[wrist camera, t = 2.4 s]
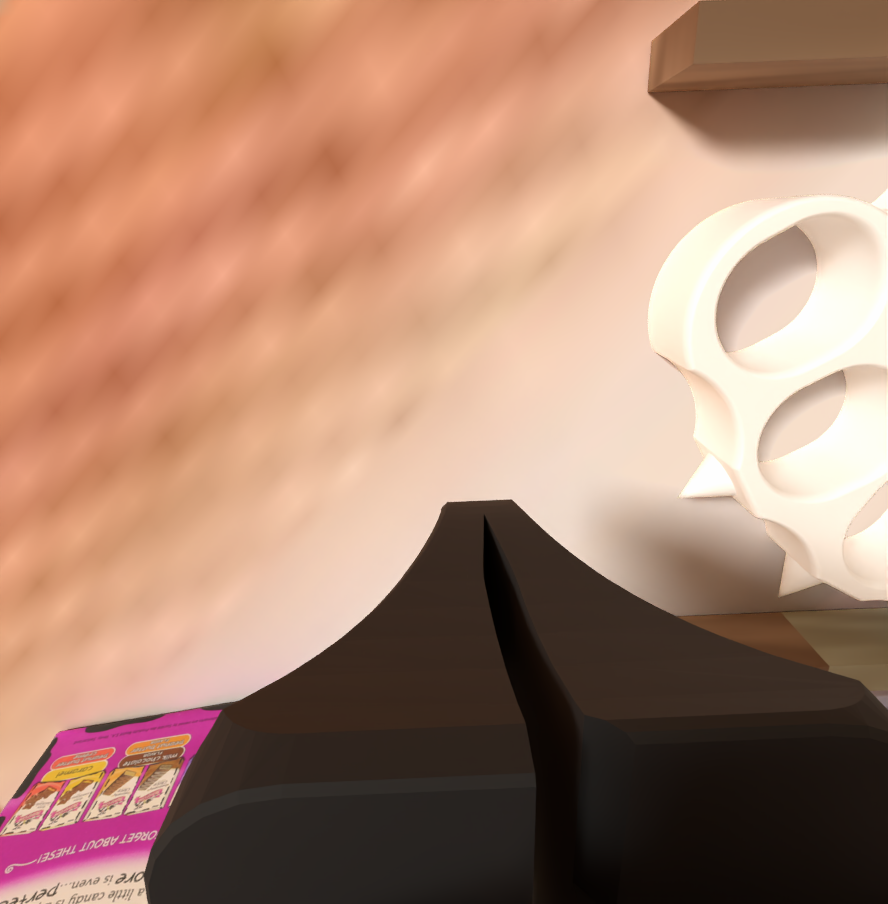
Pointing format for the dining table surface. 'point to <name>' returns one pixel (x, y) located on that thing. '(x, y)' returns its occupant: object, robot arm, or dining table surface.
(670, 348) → the white brass knuckles
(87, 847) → the candy bar box
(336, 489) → the dining table surface
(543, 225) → the dining table surface
